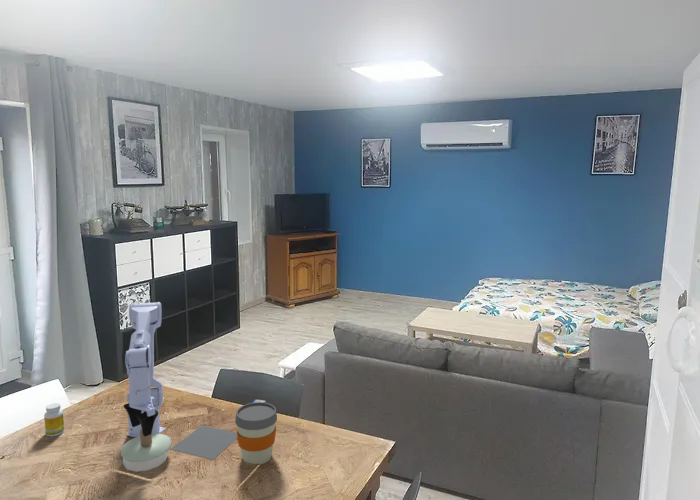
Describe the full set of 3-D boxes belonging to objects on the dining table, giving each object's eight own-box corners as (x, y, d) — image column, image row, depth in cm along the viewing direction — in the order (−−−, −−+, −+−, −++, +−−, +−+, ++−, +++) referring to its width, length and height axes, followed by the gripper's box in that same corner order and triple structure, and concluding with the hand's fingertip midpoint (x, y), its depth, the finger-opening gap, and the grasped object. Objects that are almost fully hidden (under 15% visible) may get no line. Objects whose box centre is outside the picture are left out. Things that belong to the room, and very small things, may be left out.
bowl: (114, 467, 139) (114, 455, 139) (144, 446, 150) (144, 435, 150) (147, 476, 135) (146, 463, 135) (175, 454, 146) (175, 442, 146)
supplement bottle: (44, 432, 158) (42, 405, 157) (62, 427, 162) (61, 400, 160) (46, 438, 154) (44, 411, 153) (65, 433, 157) (63, 406, 156)
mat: (170, 450, 148) (170, 449, 148) (201, 426, 163) (201, 425, 163) (213, 461, 143) (213, 459, 143) (241, 435, 158) (241, 433, 158)
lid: (112, 448, 142) (111, 430, 141) (157, 431, 152) (156, 414, 151) (134, 467, 133) (133, 448, 132) (180, 447, 143) (179, 429, 142)
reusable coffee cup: (284, 450, 150) (284, 405, 148) (264, 472, 138) (264, 424, 136) (249, 442, 154) (249, 399, 152) (227, 463, 142) (226, 416, 140)
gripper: (164, 390, 138) (166, 433, 140) (142, 376, 147) (144, 417, 149) (140, 398, 133) (142, 443, 134) (118, 383, 142) (121, 425, 144)
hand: (141, 430), depth 141 cm, fingers open, 7 cm apart
